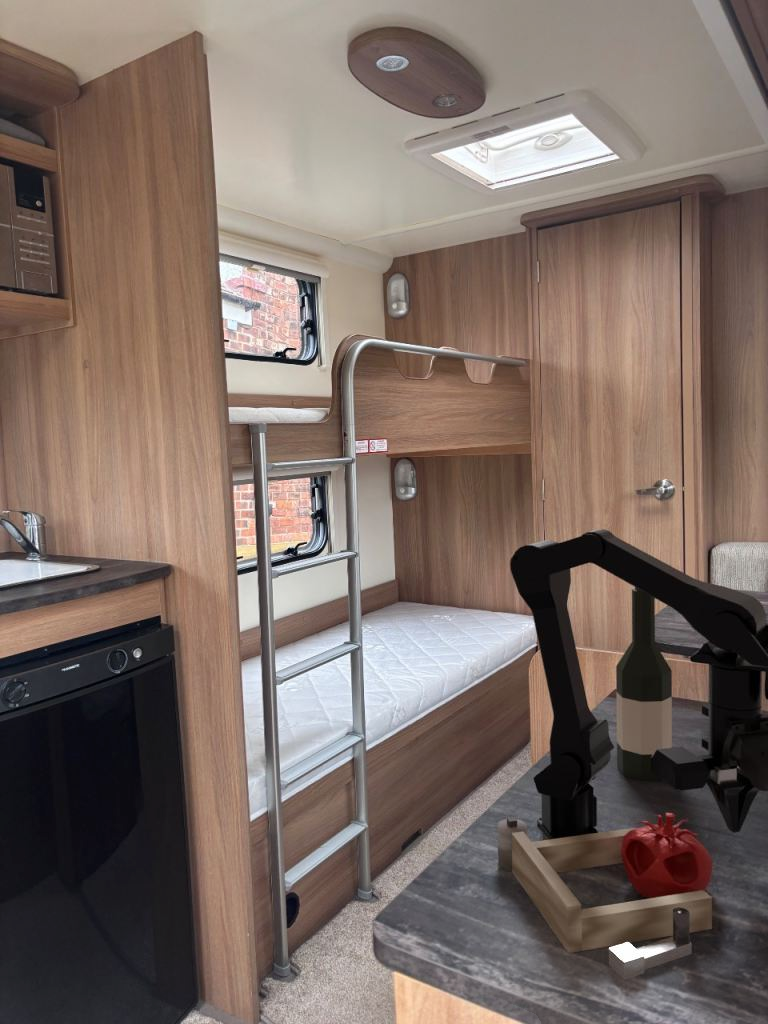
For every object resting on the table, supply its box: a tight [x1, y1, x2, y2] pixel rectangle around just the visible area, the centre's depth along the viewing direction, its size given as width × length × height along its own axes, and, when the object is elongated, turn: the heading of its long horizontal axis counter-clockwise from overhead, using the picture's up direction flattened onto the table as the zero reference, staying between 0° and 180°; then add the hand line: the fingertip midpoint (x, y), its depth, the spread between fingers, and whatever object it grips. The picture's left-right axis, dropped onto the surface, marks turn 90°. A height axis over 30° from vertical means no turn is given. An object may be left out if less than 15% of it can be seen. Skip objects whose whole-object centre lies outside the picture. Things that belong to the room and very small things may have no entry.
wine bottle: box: [615, 587, 673, 782], centre depth 123 cm, size 8×8×30 cm
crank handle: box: [608, 907, 693, 981], centre depth 79 cm, size 9×2×4 cm, turn 111°
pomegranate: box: [621, 812, 714, 899], centre depth 91 cm, size 10×10×9 cm
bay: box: [497, 816, 713, 954], centre depth 91 cm, size 18×20×6 cm
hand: (733, 830), depth 93 cm, fingers closed
